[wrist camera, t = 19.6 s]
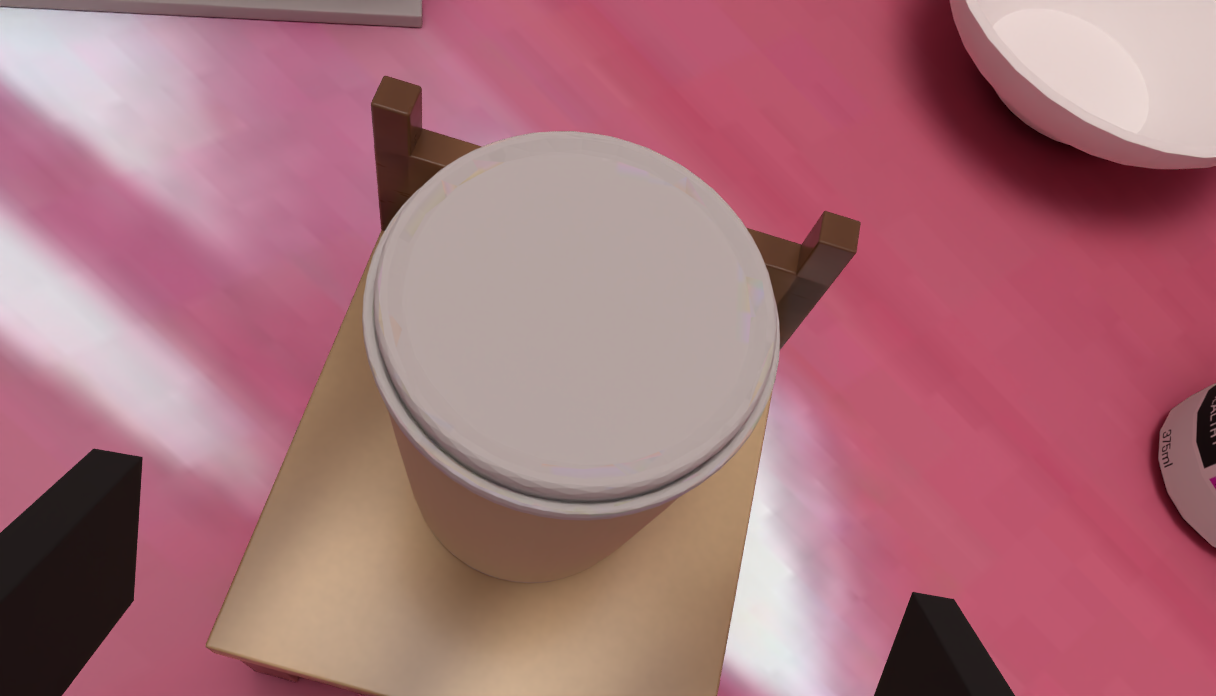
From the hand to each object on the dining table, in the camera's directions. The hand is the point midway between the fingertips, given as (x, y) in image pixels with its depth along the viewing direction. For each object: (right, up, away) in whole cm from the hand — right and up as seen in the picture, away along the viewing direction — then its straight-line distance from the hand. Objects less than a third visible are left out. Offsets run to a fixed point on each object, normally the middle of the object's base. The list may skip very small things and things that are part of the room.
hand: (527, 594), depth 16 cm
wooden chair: (-2, -3, +21) cm, 22 cm away
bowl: (+26, +19, +37) cm, 49 cm away
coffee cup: (-1, 0, +15) cm, 15 cm away
